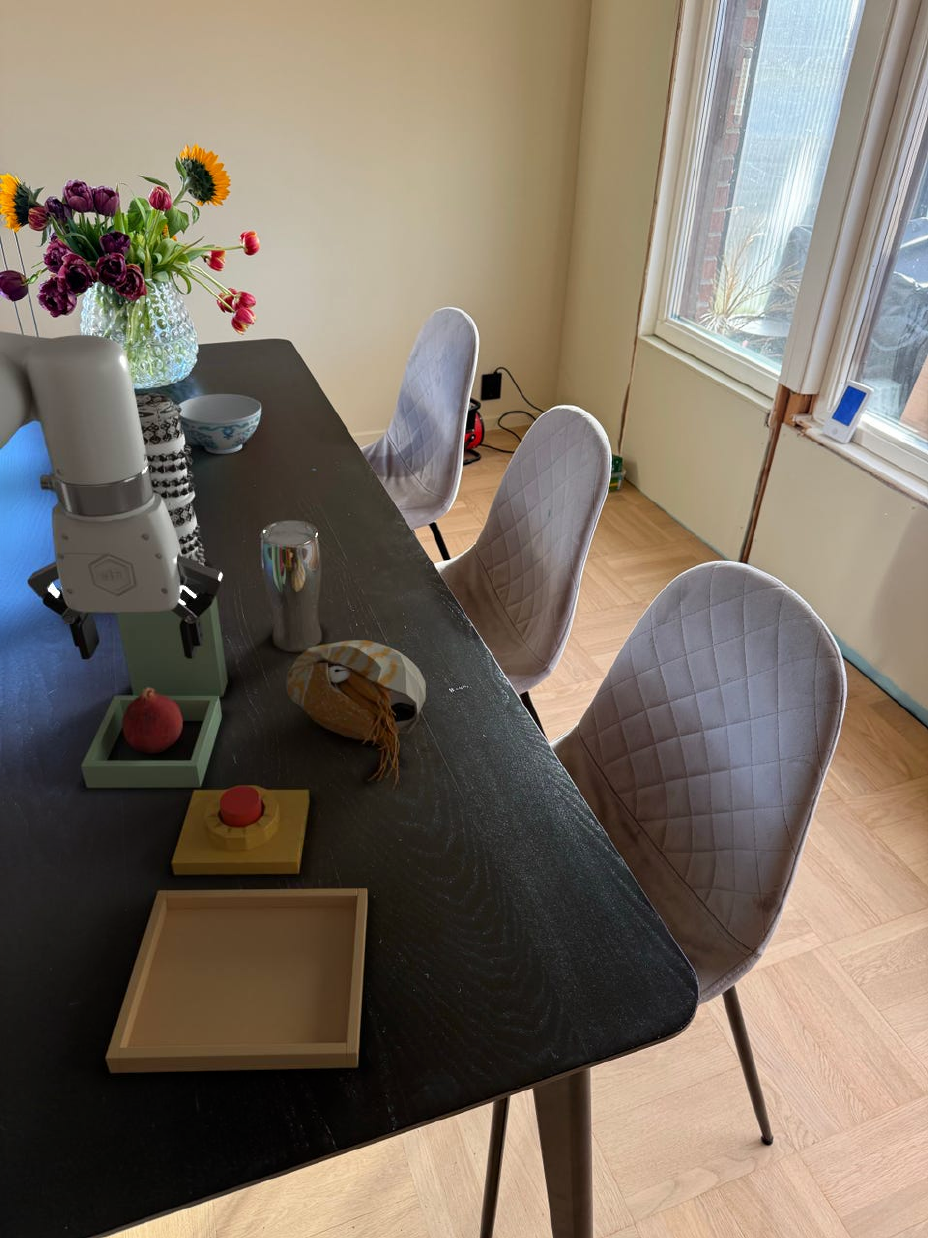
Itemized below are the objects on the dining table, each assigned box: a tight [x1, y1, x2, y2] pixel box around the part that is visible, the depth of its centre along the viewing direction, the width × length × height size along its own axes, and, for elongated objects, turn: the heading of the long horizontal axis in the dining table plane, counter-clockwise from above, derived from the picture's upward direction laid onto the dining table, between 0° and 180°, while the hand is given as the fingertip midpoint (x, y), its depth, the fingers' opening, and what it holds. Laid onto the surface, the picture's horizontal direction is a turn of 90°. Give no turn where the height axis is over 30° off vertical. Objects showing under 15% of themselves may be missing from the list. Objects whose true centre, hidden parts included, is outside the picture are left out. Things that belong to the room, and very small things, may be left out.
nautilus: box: [285, 639, 427, 790], centre depth 91 cm, size 8×22×15 cm
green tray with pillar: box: [80, 567, 229, 789], centre depth 88 cm, size 11×18×15 cm, turn 3°
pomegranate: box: [122, 687, 184, 754], centre depth 87 cm, size 6×6×8 cm
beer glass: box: [260, 520, 323, 653], centre depth 104 cm, size 7×7×15 cm
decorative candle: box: [135, 392, 206, 566], centre depth 113 cm, size 9×9×25 cm
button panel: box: [171, 785, 310, 876], centre depth 79 cm, size 11×9×4 cm
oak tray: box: [105, 888, 368, 1074], centre depth 67 cm, size 18×15×2 cm
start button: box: [220, 785, 262, 828], centre depth 78 cm, size 4×4×2 cm
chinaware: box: [177, 393, 262, 455], centre depth 157 cm, size 15×15×8 cm
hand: (142, 650), depth 83 cm, fingers open, 9 cm apart
